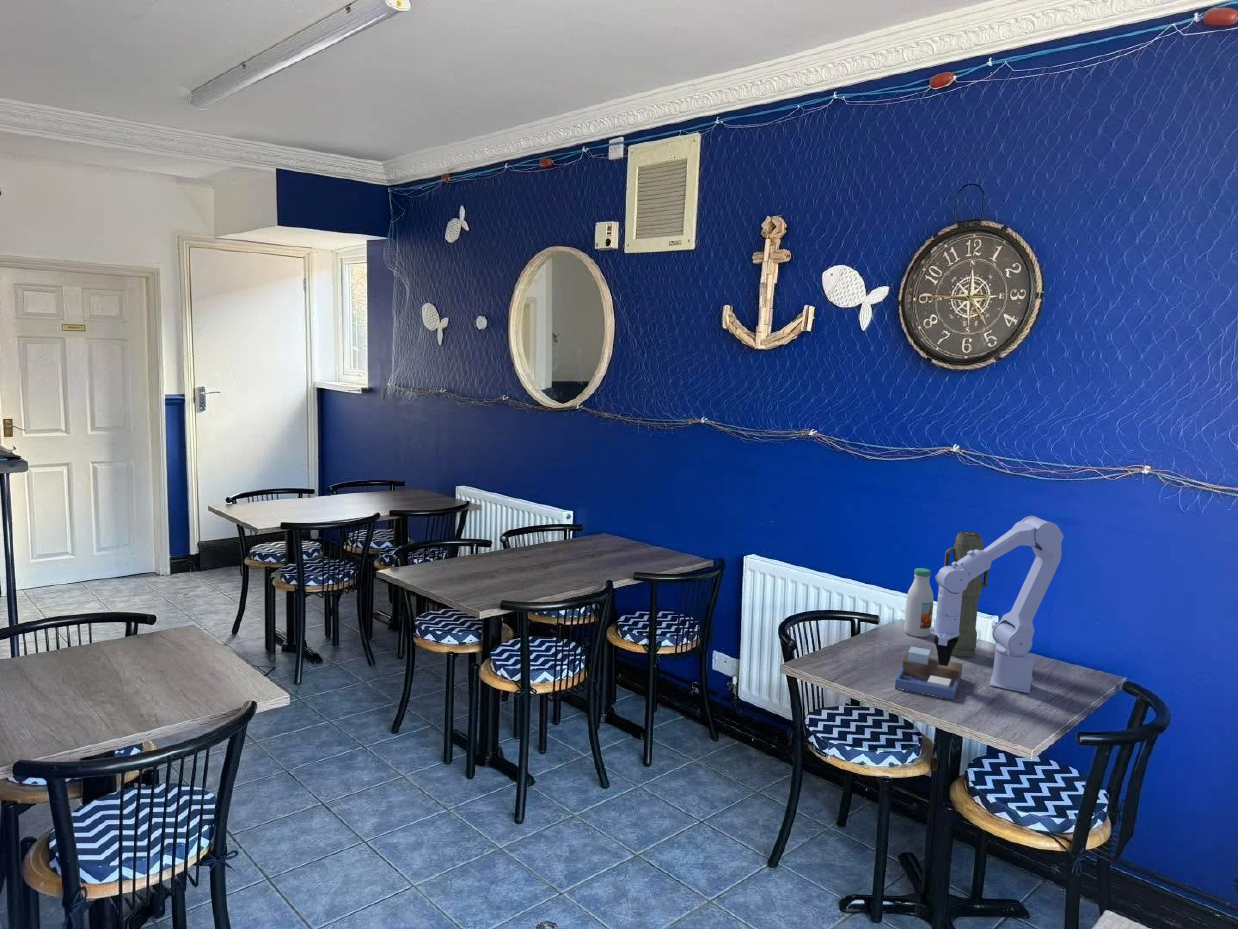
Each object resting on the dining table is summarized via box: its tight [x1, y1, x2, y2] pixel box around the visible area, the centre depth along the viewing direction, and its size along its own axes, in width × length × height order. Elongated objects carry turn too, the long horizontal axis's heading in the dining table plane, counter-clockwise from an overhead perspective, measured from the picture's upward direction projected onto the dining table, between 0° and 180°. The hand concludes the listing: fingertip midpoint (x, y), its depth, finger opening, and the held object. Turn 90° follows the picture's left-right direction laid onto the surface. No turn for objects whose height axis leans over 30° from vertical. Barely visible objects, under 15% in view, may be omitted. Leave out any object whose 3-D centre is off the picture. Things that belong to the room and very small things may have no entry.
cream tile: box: [927, 675, 951, 689], centre depth 223 cm, size 5×5×2 cm
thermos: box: [943, 530, 990, 659], centre depth 251 cm, size 9×12×35 cm
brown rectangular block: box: [901, 653, 963, 687], centre depth 233 cm, size 14×7×4 cm, turn 63°
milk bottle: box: [903, 567, 934, 638], centre depth 268 cm, size 8×8×20 cm
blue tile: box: [907, 646, 932, 665], centre depth 234 cm, size 5×5×2 cm
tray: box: [894, 667, 959, 701], centre depth 225 cm, size 14×10×2 cm
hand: (943, 664), depth 229 cm, fingers closed
